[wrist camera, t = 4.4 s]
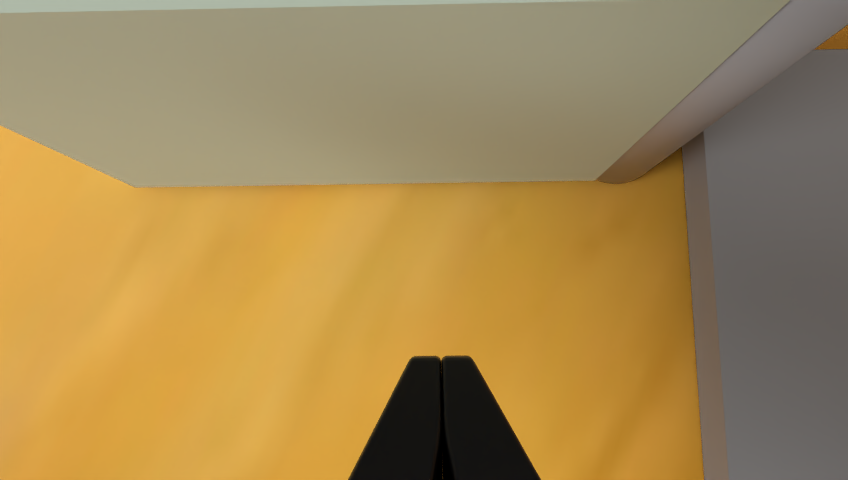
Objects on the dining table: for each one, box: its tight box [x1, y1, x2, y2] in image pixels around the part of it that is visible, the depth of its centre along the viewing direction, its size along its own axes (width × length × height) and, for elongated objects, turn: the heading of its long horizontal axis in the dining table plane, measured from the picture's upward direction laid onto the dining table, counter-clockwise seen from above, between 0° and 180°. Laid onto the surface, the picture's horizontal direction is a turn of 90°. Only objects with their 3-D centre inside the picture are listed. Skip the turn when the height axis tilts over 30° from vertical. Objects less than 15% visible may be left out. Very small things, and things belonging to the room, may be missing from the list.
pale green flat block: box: [0, 0, 848, 187], centre depth 13 cm, size 15×3×10 cm, turn 91°
